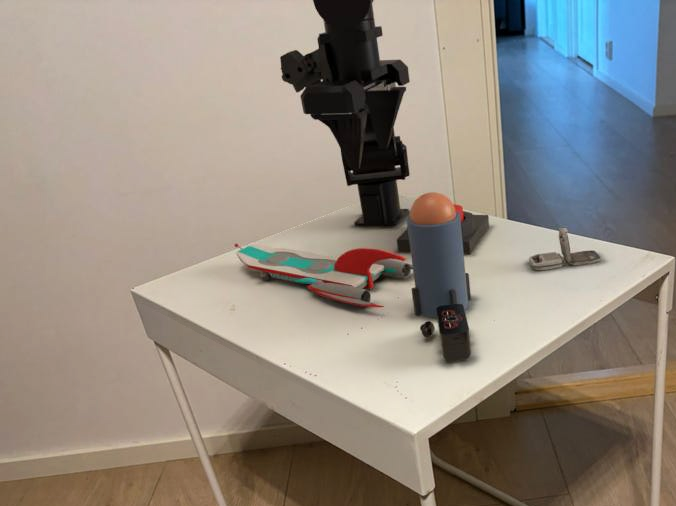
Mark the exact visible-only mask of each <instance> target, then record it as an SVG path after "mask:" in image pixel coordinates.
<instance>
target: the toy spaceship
mask: <svg viewBox="0 0 676 506" xmlns="http://www.w3.org/2000/svg"><path fill="white" fill-rule="evenodd" d="M234 247H235V248H239V250H237V251H235V254H236V256H237V258H238V259H239V261H240V262H241V263H242V264H243V266H245V267H246V268H247V269H249V270H250V271H252V272H254V273H255V272H256V273H259V276H260V278H261V280H262V281H268V280H269V278H270V277H271V278H273V279H277V280H283V281H288V282H293V283H298V284H305V285H306V284H307V285H306V288H308V289H309V290H310V291H311V292H312V293H314V294H316V295H317V296H321V297H323V298H325V299H328V300H332V301H335V302H340V303H344V304H348V305H355V306H359V307H360V306H361V307H369V308H381V309H383V308H385V305H380V304H377V303H372V302H371V299H372V298H371V297H372V296H371V292H370V291H369V290H368V289H370V290H372V289H373V288H374V283H373V282H375V281H376V280H378V278H379V277H380V276H385V277H393V278H398V279H407V278H409V276H410V275H411V271H412V270H413V265H412V263H411V264H410V263H407V262H404V261H406V260H407V258H406V257H404V256H403V255H400V254H396V253H393V252H390V251H386V250H383V249H379V248H368V247H367V248H366V247H361V248H360V247H359V248H353V249H350V250H347V251H345V252H344V253H342V254H341V255H339V257H336V256H332V255H325V254H319V253H313V252H307V251H301V250H296V249H290V248H285V247H273V246H265V245H256V244H251V245H248V246H246V247H244V248H242V247H241V246H240V245H239V243H234Z"/></svg>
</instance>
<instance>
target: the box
mask: <svg viewBox="0 0 676 506" xmlns="http://www.w3.org/2000/svg"><path fill="white" fill-rule="evenodd" d="M463 218H464V221H462V222H461V231H462V242H463V253H464V255H472V253H473V251H474V250H475V248H476V247H477V245H478V244H479V242H481V240H482V239H483V237H484V236H485V234H486V232H487V231H488V230H489V228H490V219H489V214H473V213H472V212H469V211H465V210H463ZM396 245H397V252H398V253H411V250H410V242H409V235H408V227H407V228H406V229H405V230H404V231H403V232H402V233H401V234H400V235H399V237H397V238H396Z"/></svg>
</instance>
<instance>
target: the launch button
mask: <svg viewBox="0 0 676 506" xmlns="http://www.w3.org/2000/svg"><path fill="white" fill-rule="evenodd" d="M453 205H454V207H455V210H456V211H457V212H459V214H460V220H461V222H462V221H464V218H463V211H464V208H463V206H462V205H461V204H456V203H455V204H454V203H453Z"/></svg>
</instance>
